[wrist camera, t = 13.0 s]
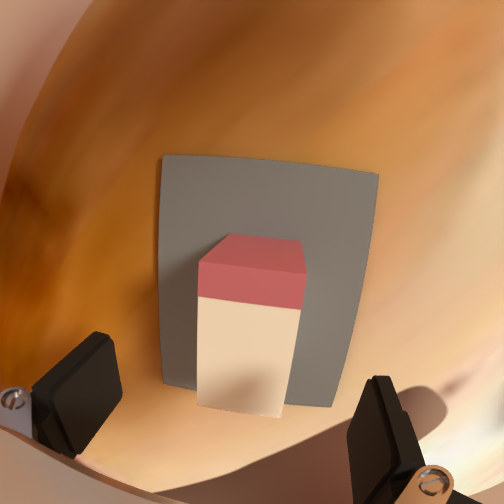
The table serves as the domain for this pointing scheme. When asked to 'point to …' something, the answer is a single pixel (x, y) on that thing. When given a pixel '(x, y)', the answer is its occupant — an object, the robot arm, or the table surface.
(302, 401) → the mat
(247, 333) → the card box
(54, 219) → the table surface
